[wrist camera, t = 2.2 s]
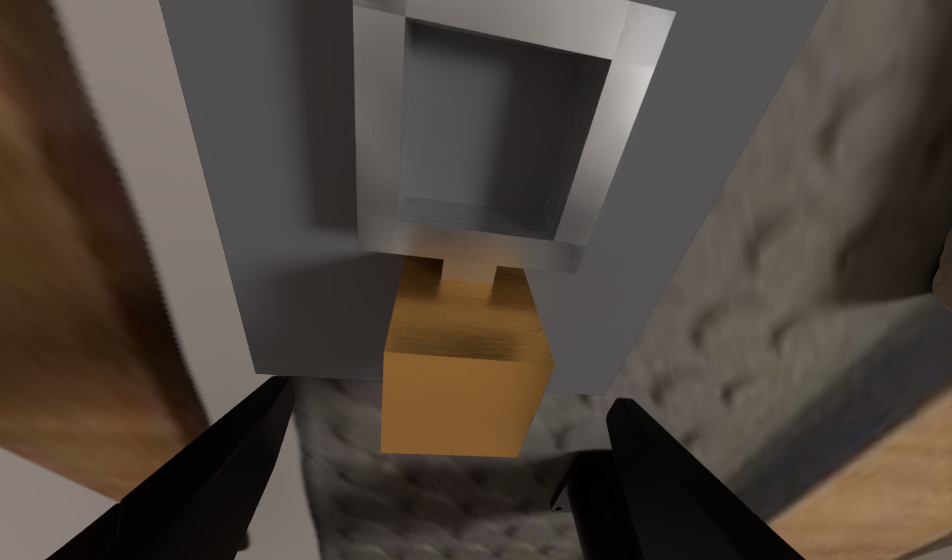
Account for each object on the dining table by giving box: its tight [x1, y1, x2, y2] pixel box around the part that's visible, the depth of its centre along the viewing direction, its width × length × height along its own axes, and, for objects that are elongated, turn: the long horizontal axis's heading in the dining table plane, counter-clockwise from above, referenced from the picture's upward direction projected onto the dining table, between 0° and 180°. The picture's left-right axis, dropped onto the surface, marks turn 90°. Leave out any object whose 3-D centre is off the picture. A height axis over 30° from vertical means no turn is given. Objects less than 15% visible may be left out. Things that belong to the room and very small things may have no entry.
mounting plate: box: [159, 0, 828, 396], centre depth 9 cm, size 26×16×1 cm, turn 170°
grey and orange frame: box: [353, 0, 676, 457], centre depth 10 cm, size 14×6×5 cm, turn 170°
